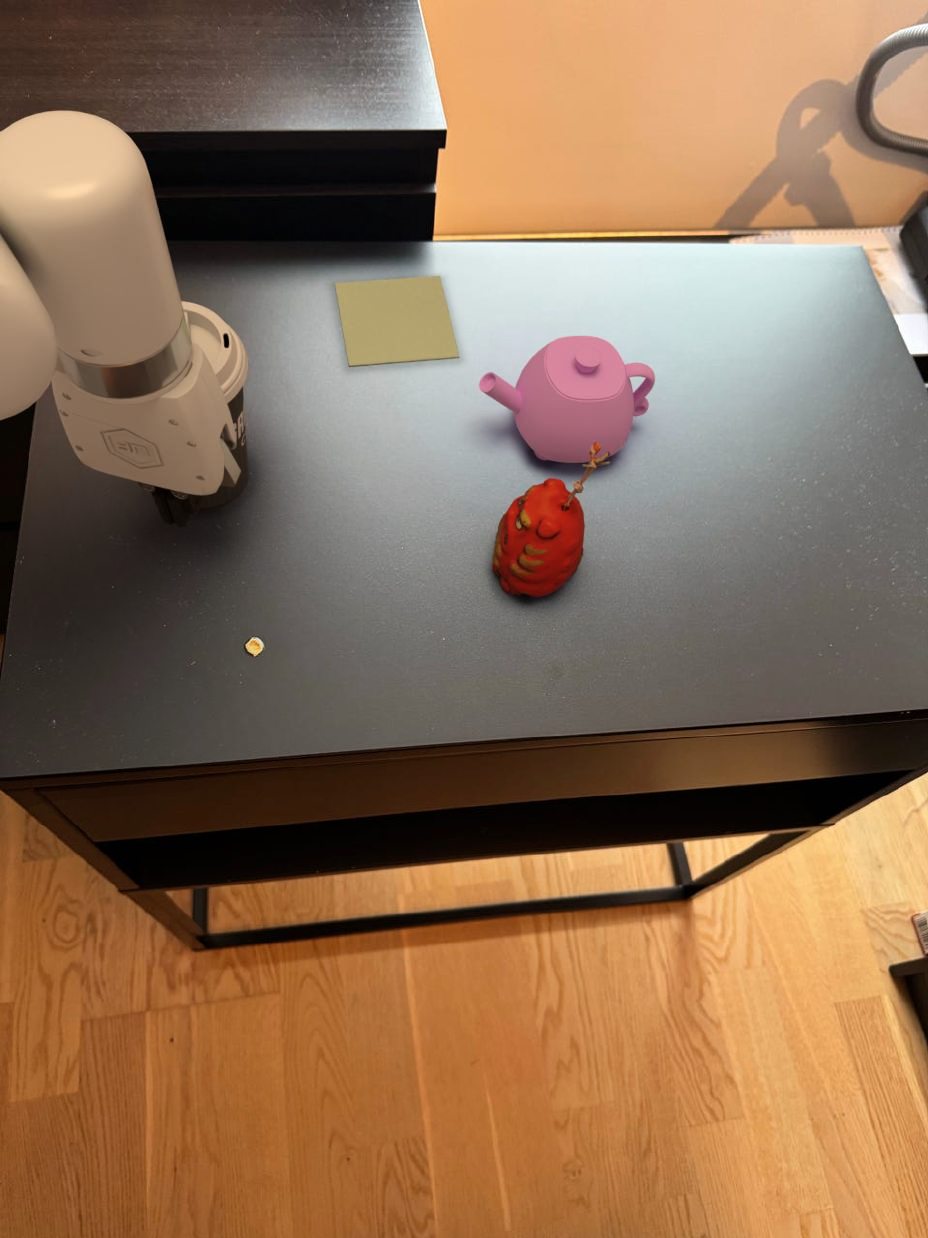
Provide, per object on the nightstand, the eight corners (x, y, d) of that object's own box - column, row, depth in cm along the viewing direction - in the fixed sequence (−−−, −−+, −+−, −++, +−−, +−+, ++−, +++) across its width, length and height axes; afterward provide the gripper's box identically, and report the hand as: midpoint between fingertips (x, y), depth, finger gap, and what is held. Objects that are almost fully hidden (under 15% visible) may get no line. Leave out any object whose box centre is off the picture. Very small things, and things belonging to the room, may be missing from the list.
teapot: (650, 475, 78) (683, 404, 70) (478, 482, 76) (492, 411, 68) (627, 380, 83) (656, 304, 74) (464, 385, 81) (475, 307, 72)
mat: (348, 366, 80) (348, 365, 80) (334, 283, 85) (334, 282, 84) (459, 357, 82) (459, 356, 82) (440, 276, 86) (440, 275, 86)
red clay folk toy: (492, 520, 75) (518, 401, 61) (576, 528, 75) (620, 412, 62) (487, 602, 71) (514, 495, 58) (576, 610, 72) (622, 506, 58)
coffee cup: (246, 536, 72) (217, 414, 58) (129, 509, 72) (74, 382, 59) (282, 442, 76) (262, 309, 63) (172, 416, 76) (129, 278, 63)
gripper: (-31, 355, 51) (67, 527, 68) (224, 417, 51) (260, 575, 67) (28, 263, 55) (108, 448, 71) (267, 322, 54) (291, 494, 71)
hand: (182, 510), depth 69 cm, fingers closed
